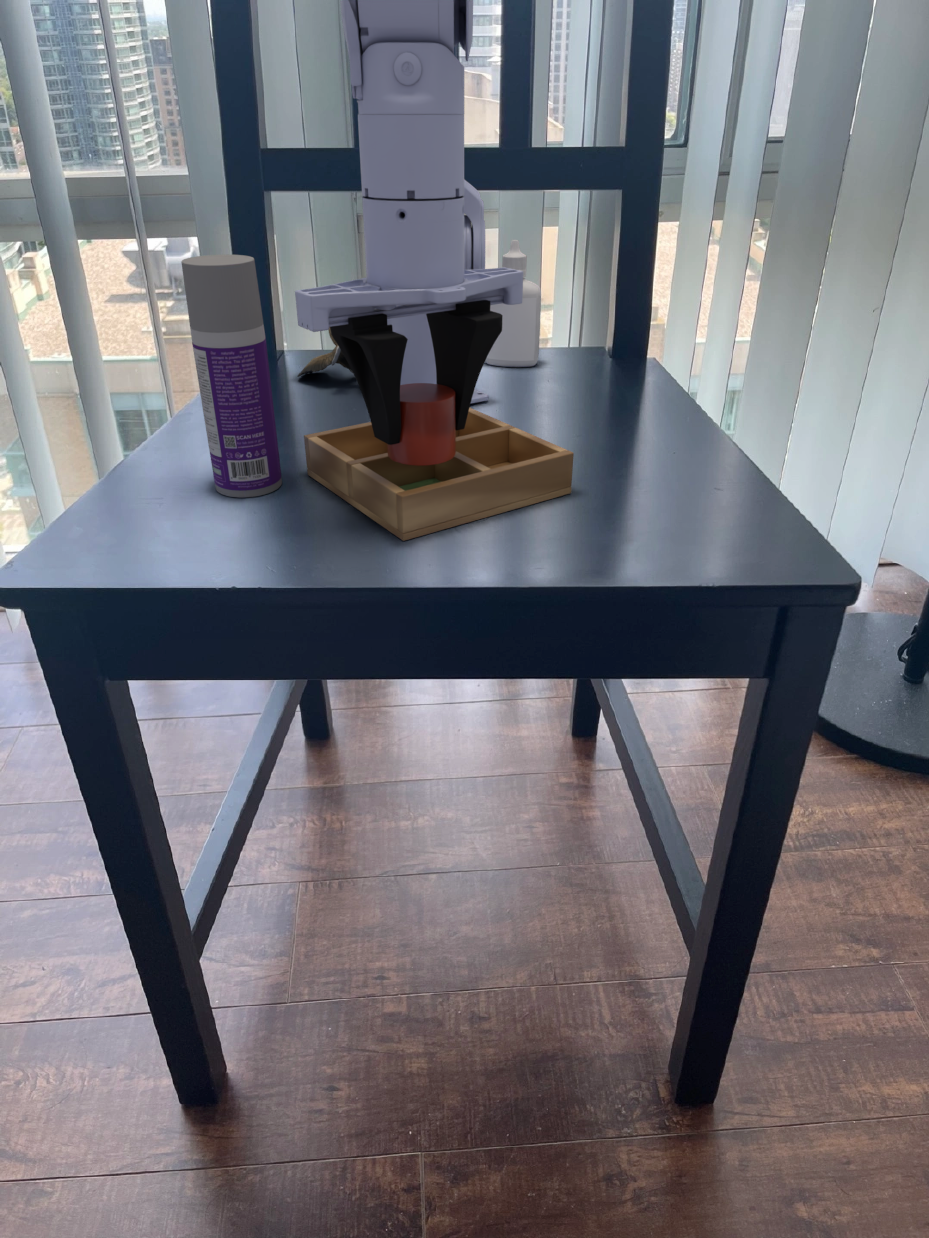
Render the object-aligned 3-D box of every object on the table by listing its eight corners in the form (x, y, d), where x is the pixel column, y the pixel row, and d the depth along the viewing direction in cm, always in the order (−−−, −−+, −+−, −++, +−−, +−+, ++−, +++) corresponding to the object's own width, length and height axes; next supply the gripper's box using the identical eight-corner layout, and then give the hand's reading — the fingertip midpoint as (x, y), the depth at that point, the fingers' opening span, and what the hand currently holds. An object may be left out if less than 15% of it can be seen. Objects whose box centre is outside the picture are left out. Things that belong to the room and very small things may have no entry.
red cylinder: (375, 450, 56) (371, 389, 54) (432, 438, 58) (430, 379, 56) (410, 471, 53) (408, 407, 51) (469, 457, 55) (469, 395, 53)
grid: (307, 474, 63) (303, 435, 61) (461, 439, 69) (461, 403, 68) (403, 541, 53) (401, 496, 52) (571, 493, 60) (574, 452, 58)
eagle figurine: (406, 363, 85) (342, 335, 89) (384, 309, 79) (316, 281, 83) (359, 418, 83) (295, 387, 87) (332, 367, 77) (265, 336, 81)
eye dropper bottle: (520, 372, 87) (525, 245, 81) (477, 363, 90) (479, 240, 84) (545, 363, 90) (551, 240, 84) (502, 355, 93) (505, 236, 87)
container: (294, 477, 62) (270, 256, 55) (260, 501, 58) (229, 267, 51) (238, 469, 64) (207, 252, 56) (202, 492, 60) (163, 263, 52)
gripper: (328, 209, 41) (348, 474, 48) (559, 195, 48) (547, 428, 55) (269, 199, 46) (295, 440, 53) (486, 187, 53) (484, 402, 60)
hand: (419, 432), depth 55 cm, fingers closed on red cylinder, 4 cm apart
